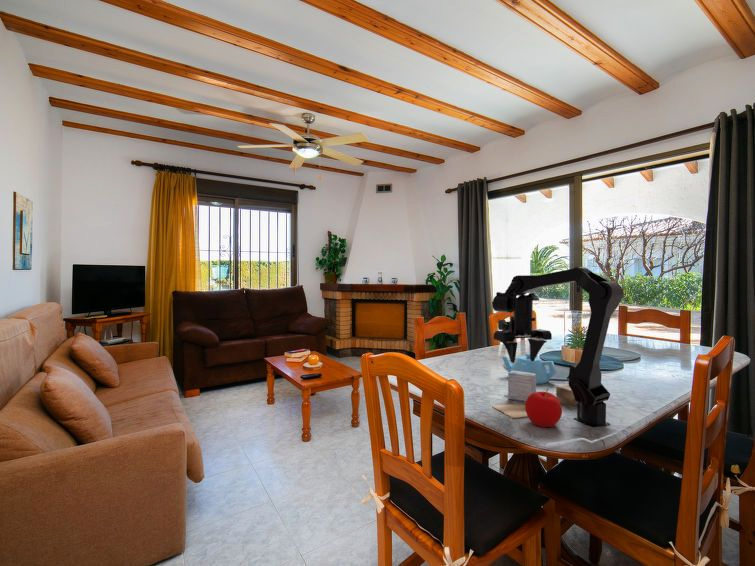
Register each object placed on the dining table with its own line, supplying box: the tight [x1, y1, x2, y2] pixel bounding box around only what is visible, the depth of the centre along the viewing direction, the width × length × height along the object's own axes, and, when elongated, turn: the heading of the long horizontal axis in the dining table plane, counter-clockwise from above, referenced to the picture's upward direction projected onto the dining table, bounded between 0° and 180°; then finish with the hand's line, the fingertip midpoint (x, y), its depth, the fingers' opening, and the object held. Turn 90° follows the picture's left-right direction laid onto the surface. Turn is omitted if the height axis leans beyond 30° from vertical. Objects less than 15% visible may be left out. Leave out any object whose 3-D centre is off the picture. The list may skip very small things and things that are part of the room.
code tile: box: [503, 394, 526, 405], centre depth 120 cm, size 11×6×1 cm, turn 18°
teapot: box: [501, 352, 558, 385], centre depth 142 cm, size 15×15×11 cm
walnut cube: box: [555, 384, 578, 408], centre depth 117 cm, size 5×5×5 cm
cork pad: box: [492, 402, 528, 420], centre depth 110 cm, size 10×10×1 cm
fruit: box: [525, 388, 563, 428], centre depth 100 cm, size 9×9×10 cm
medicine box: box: [507, 370, 537, 402], centre depth 120 cm, size 8×4×9 cm, turn 55°
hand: (522, 361), depth 120 cm, fingers open, 7 cm apart
